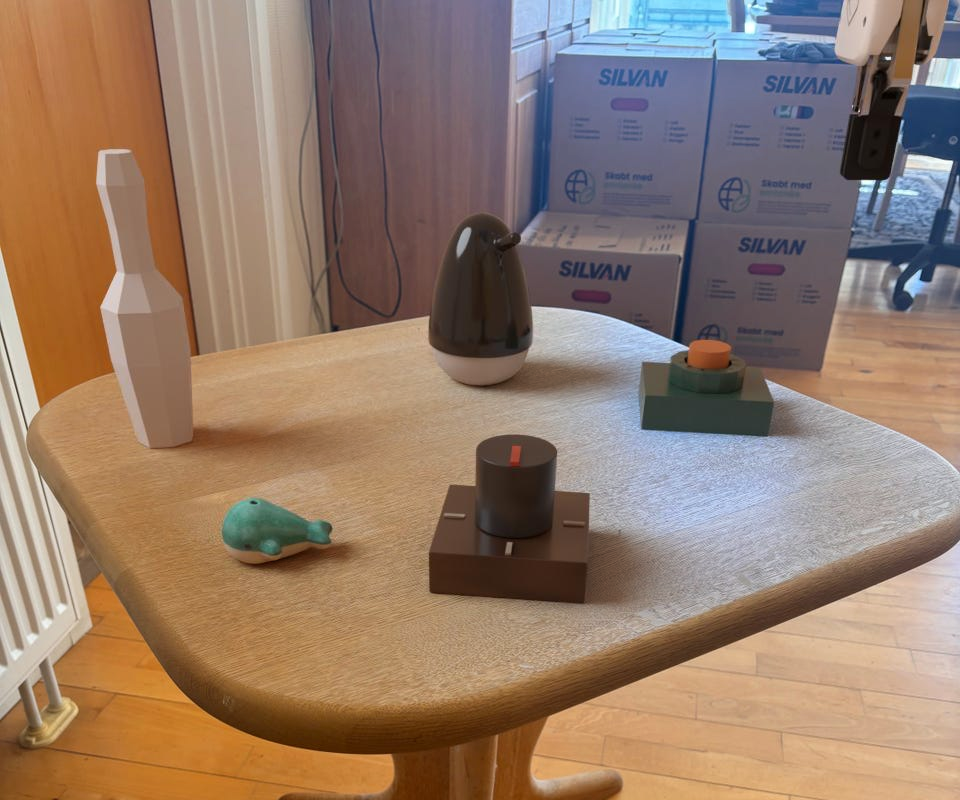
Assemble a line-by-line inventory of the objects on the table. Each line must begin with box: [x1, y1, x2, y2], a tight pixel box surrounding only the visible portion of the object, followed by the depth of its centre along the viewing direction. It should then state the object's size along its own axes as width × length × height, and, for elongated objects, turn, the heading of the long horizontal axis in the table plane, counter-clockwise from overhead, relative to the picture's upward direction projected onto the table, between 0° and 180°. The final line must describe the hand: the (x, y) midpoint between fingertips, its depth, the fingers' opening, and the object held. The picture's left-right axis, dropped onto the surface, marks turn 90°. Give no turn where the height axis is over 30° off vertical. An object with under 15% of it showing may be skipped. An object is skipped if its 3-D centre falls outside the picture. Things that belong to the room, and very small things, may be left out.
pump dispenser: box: [427, 212, 534, 386], centre depth 92 cm, size 10×10×15 cm
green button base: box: [637, 349, 775, 438], centre depth 88 cm, size 11×9×5 cm
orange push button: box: [687, 339, 732, 369], centre depth 86 cm, size 4×4×2 cm
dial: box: [474, 434, 558, 538], centre depth 63 cm, size 5×5×5 cm
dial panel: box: [428, 484, 591, 604], centre depth 65 cm, size 10×10×3 cm
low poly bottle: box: [95, 148, 194, 449], centre depth 76 cm, size 6×6×22 cm
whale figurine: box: [221, 497, 334, 565], centre depth 66 cm, size 6×7×4 cm
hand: (863, 177), depth 69 cm, fingers closed
